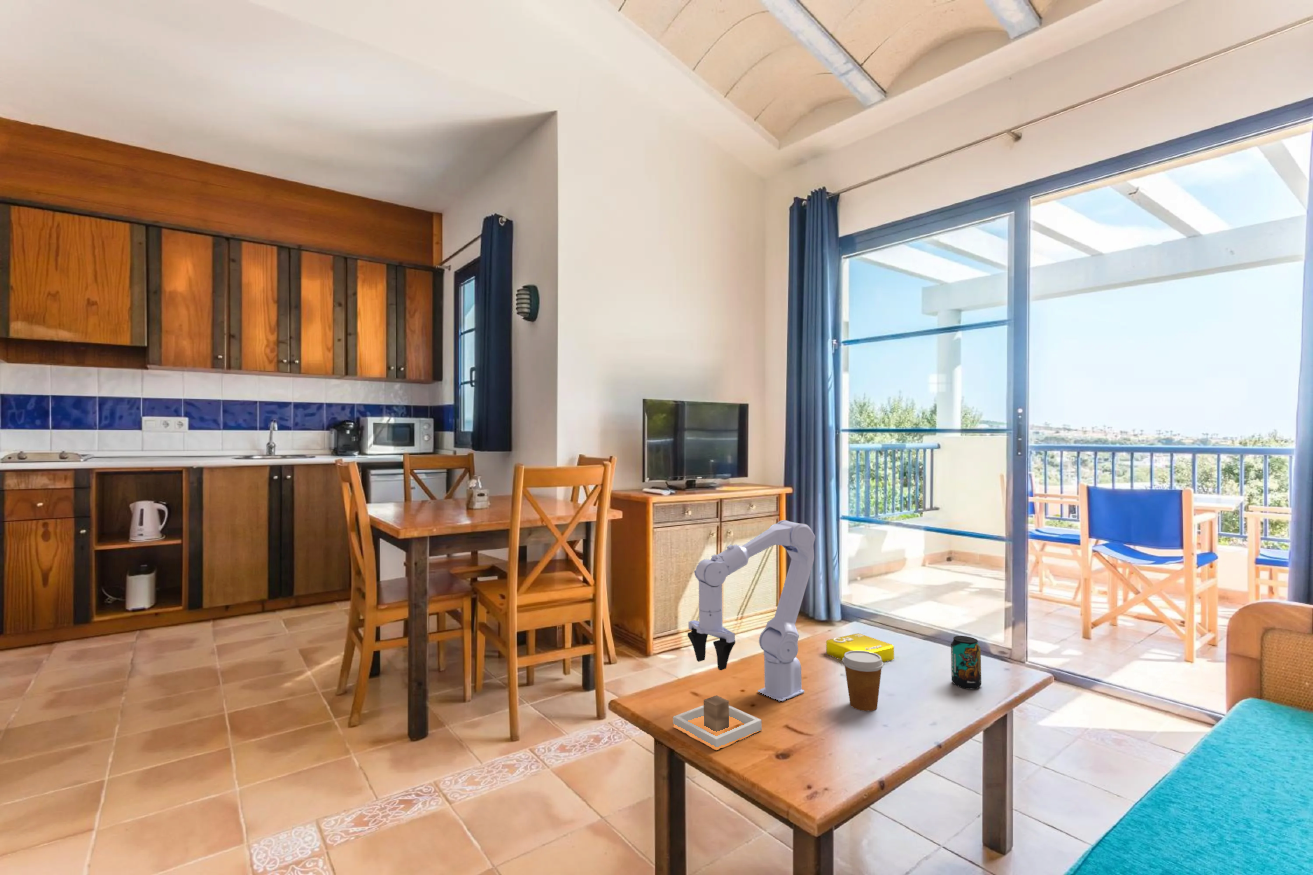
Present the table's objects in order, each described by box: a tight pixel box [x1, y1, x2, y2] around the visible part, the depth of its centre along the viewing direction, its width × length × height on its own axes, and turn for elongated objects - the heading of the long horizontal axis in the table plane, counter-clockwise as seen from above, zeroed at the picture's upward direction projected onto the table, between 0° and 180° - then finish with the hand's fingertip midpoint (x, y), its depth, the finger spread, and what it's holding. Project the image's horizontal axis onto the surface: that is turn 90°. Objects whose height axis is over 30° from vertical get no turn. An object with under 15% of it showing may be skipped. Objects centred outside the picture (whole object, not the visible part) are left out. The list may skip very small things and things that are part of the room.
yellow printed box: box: [825, 633, 895, 663], centre depth 183 cm, size 15×15×5 cm
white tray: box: [672, 704, 763, 747], centre depth 136 cm, size 14×14×2 cm
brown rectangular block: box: [703, 695, 730, 732], centre depth 136 cm, size 4×4×6 cm
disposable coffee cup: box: [841, 650, 885, 712], centre depth 148 cm, size 10×10×12 cm
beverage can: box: [950, 635, 982, 690], centre depth 160 cm, size 7×7×12 cm
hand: (711, 664), depth 149 cm, fingers open, 7 cm apart
